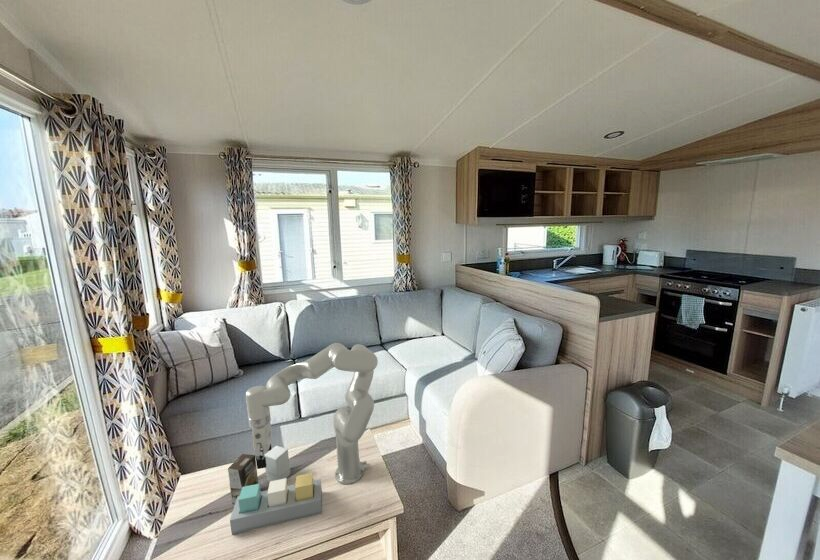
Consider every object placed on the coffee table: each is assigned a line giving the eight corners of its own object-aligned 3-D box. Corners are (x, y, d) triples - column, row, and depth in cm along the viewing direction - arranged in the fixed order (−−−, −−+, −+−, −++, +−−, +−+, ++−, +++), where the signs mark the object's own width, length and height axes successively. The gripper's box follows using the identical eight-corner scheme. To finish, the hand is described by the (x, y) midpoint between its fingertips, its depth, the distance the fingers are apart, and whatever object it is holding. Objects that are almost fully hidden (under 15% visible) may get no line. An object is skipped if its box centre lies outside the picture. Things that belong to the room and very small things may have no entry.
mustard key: (313, 487, 134) (312, 472, 133) (313, 499, 128) (311, 484, 127) (297, 491, 133) (296, 476, 131) (296, 503, 127) (295, 487, 126)
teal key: (261, 498, 129) (259, 483, 128) (258, 512, 123) (256, 496, 122) (244, 502, 128) (242, 487, 127) (240, 516, 122) (238, 499, 121)
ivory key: (288, 493, 132) (286, 478, 131) (286, 505, 126) (284, 490, 125) (271, 496, 130) (269, 481, 129) (269, 509, 124) (267, 493, 123)
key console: (321, 491, 138) (320, 478, 137) (321, 513, 127) (320, 500, 126) (239, 509, 130) (237, 496, 129) (231, 534, 120) (229, 520, 119)
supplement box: (291, 473, 149) (288, 449, 146) (278, 485, 142) (275, 459, 140) (279, 469, 152) (276, 444, 149) (266, 480, 145) (263, 455, 143)
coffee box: (245, 505, 132) (240, 470, 129) (231, 503, 133) (226, 468, 131) (259, 487, 141) (255, 454, 138) (246, 485, 142) (242, 453, 139)
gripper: (265, 431, 116) (270, 473, 119) (274, 405, 133) (278, 442, 136) (242, 434, 115) (248, 477, 118) (254, 408, 131) (259, 445, 134)
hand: (264, 458), depth 127 cm, fingers open, 9 cm apart
